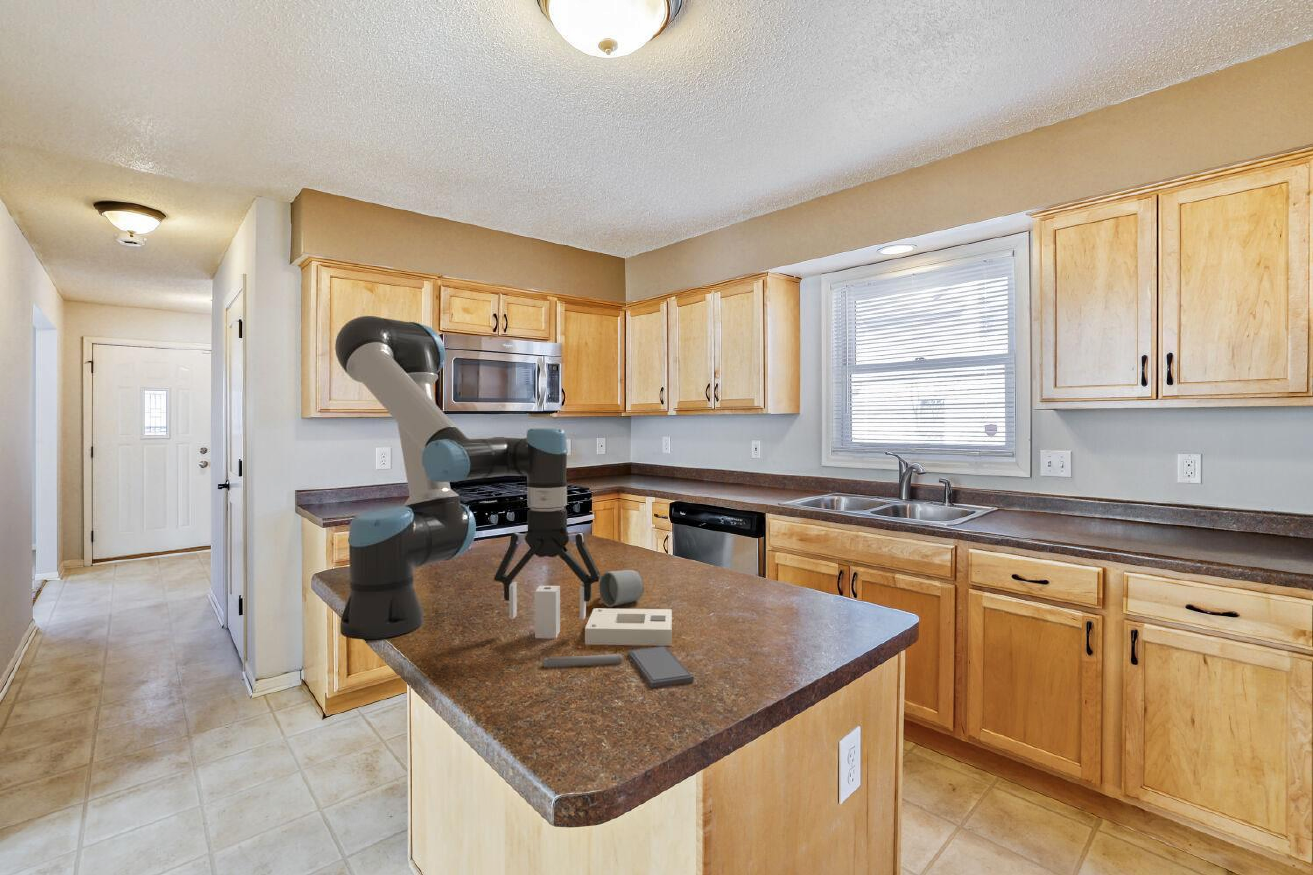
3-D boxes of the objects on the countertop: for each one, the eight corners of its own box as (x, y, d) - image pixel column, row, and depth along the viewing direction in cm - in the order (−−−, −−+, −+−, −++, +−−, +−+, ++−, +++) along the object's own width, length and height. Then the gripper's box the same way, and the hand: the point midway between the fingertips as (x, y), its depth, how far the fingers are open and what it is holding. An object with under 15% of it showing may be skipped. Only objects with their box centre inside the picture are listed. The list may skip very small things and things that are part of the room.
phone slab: (651, 687, 95) (651, 682, 95) (627, 654, 108) (627, 649, 108) (693, 681, 97) (693, 676, 97) (665, 650, 110) (665, 645, 110)
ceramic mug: (646, 603, 139) (646, 569, 138) (617, 610, 133) (617, 575, 133) (618, 593, 147) (618, 561, 147) (590, 600, 141) (589, 567, 141)
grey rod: (542, 669, 102) (542, 660, 102) (542, 665, 104) (542, 656, 104) (623, 665, 104) (623, 655, 104) (622, 661, 106) (622, 652, 106)
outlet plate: (584, 644, 113) (584, 627, 113) (593, 622, 125) (593, 607, 125) (671, 645, 113) (671, 628, 113) (671, 623, 125) (671, 608, 125)
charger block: (535, 638, 117) (535, 590, 116) (539, 630, 121) (539, 584, 120) (556, 638, 116) (555, 590, 116) (560, 631, 120) (559, 584, 120)
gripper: (476, 510, 114) (478, 622, 115) (609, 511, 114) (610, 624, 114) (489, 505, 122) (490, 610, 123) (613, 505, 121) (614, 611, 122)
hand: (547, 617), depth 118 cm, fingers open, 13 cm apart
